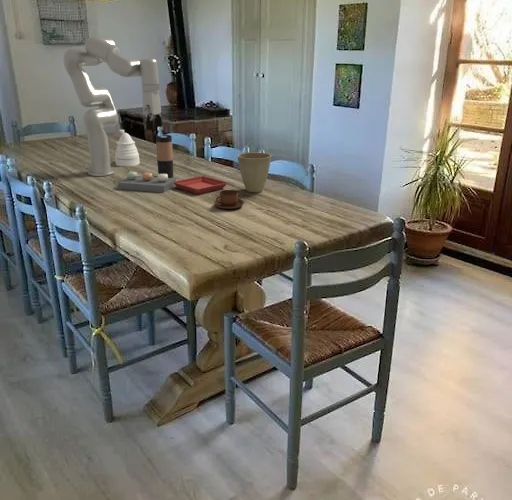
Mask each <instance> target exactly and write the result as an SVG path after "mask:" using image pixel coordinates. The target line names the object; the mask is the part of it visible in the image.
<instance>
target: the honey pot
mask: <svg viewBox="0 0 512 500" xmlns="http://www.w3.org/2000/svg"><path fill="white" fill-rule="evenodd" d="M119 133H120V134H121V135H120V138H119V139H118V141H116V142H115V144H116V145H117V146H116V148H115V149H116V150H115V153H114V159H115V160H114V161H115V165H116V166H119V167H133V166H138V165H140V163H141V162H140V154H139V152H138V148H137V145H136V142H135V140H133V139H132V136H131V135H130V134H129V133H127V132H125V129H119Z"/></svg>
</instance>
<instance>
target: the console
mask: <svg viewBox="0 0 512 500" xmlns="http://www.w3.org/2000/svg"><path fill="white" fill-rule="evenodd" d="M175 181H177V178H174V177H172V178H168V180H166V181H159V180H158V176H153V179H150V180H144V179H142V175H137V178H135V179H129V178H127V177H125V179H122V180H121V181H119V182H118V190H127V191H128V190H129V191H138V192H139V191H140V192H151V191H152V192H153V193H155V192H156V193H166V192H167V191H169V190H171V189H172V188H174V187H175V186H176V185H175V184H174V183H173V182H175ZM173 186H174V187H173ZM170 188H171V189H170ZM152 192H151V193H152Z"/></svg>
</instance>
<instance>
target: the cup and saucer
mask: <svg viewBox="0 0 512 500" xmlns="http://www.w3.org/2000/svg"><path fill="white" fill-rule="evenodd" d="M244 203H245V202H244V201H243V200H242V199H239V191H237V190H234V189H225V190H220V191H219V196H217V197H216V198H215V200H214V202H213V204H214V206H215V207H216V208H220V209H222V210H223V209H225V210H233V209H234V210H235V209H239V208H241V207H243V206H244Z"/></svg>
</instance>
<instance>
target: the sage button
mask: <svg viewBox="0 0 512 500" xmlns="http://www.w3.org/2000/svg"><path fill="white" fill-rule="evenodd" d="M137 176H138V172H137V171H128V172H126V178H129V179H135V178H137Z"/></svg>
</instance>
